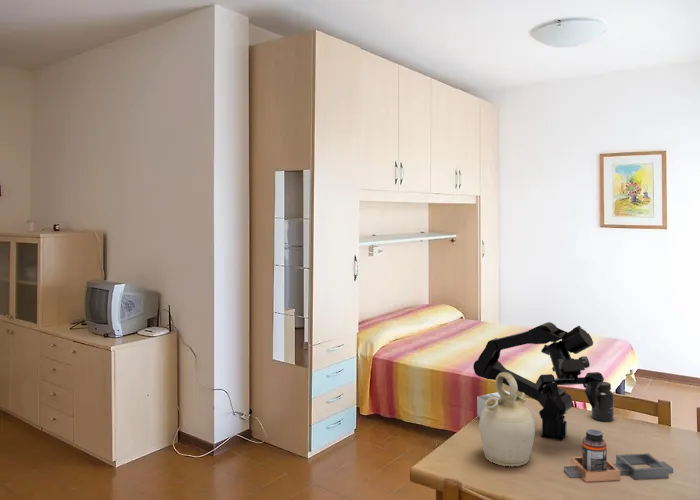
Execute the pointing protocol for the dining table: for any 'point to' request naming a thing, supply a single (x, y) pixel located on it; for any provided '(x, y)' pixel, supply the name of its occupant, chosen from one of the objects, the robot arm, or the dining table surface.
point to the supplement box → (484, 398)
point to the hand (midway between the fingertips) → (578, 408)
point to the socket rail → (620, 468)
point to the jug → (507, 426)
